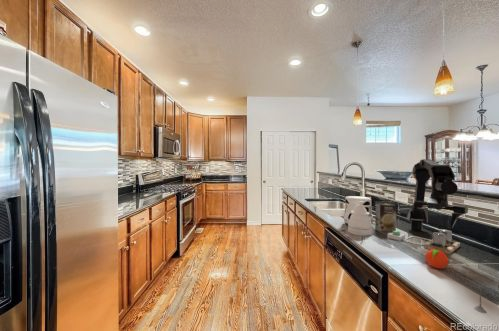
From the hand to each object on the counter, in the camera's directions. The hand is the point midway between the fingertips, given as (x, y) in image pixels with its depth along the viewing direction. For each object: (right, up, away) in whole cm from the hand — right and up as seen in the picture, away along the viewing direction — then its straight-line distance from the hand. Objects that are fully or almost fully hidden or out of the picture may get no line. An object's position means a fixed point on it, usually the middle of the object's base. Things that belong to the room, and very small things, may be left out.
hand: (438, 225), depth 105 cm
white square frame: (-10, -12, +15) cm, 21 cm away
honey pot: (-23, -12, +27) cm, 38 cm away
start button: (-10, -10, +15) cm, 20 cm away
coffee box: (-6, -12, +31) cm, 34 cm away
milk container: (-17, -12, +43) cm, 48 cm away
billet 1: (0, -11, 0) cm, 11 cm away
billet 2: (+7, -11, +5) cm, 14 cm away
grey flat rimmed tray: (-2, -12, +11) cm, 16 cm away
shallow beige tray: (+4, -12, +2) cm, 13 cm away
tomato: (-16, -12, -18) cm, 27 cm away
